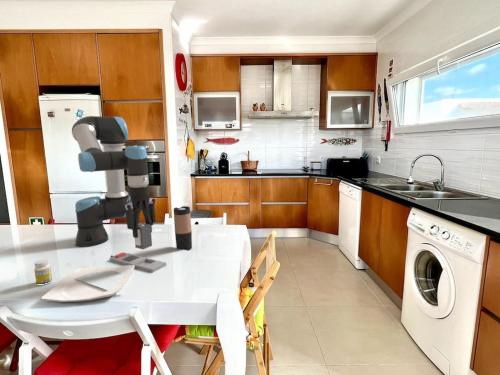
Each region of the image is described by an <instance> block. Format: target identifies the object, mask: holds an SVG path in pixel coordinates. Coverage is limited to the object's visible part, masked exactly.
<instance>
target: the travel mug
mask: <svg viewBox="0 0 500 375" xmlns="http://www.w3.org/2000/svg"><path fill="white" fill-rule="evenodd" d="M173 221H174V222H173V223H174V237H175V247H176V249H177V250H181V251H191V250H192V248H193V240H192V239H193V238H192V218H191V207H190V206H183V205H182V206H181V207H174V208H173Z"/></svg>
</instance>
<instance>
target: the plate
mask: <svg viewBox="0 0 500 375" xmlns="http://www.w3.org/2000/svg"><path fill="white" fill-rule="evenodd" d="M134 267H135V265H121V266H120V265H119V266H104V267H103V266H102V267H78V268H76V269H74V270H73V271H72V272H71V273H69V274H68V275H67V276H66V277H64V278H63V279H61V280H60V282H58V283H56V285H54V286H53V287H52V288H51V289H50V290H48V291H47V292H46V293H45V294H44V295H43V296H42V297H40V299H41V300H43V301H45V302H46V301H47V302H56V303H57V302H58V303H71V302H72V303H74V302H85V301H86V302H87V301H88V302H89V301H93V300H98V299H105V298H108V297H112V296H113V295H115V294H116V293H118V291H119V290H121V289H122V288H123V287H125V285H126V284H127V283H129V282H128V281H130V279H131V277H132V276H133V273H134V271H135V268H134ZM99 272H100V273H101V272H115V273H119V274H121V275H122V280H121V281H120V282H119V283H117V285H115V287H111V288H110V289H105V288H103V287H100V286H97V285H94V284H91V283H88V282H86V281H83V280H80V279H79V278H80V277H82V276H87V275H90V274H94V273H99Z"/></svg>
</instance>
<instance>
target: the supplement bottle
mask: <svg viewBox="0 0 500 375" xmlns="http://www.w3.org/2000/svg"><path fill="white" fill-rule="evenodd" d="M51 270H52V269H51V265H50V264H49V260H48V259H45V258H44V259H39V260H36V261H35V262H34V276H35V283H36V285H37V284H45V283H48V282H50V283H52V282H53V276H52V271H51ZM51 281H52V282H51Z"/></svg>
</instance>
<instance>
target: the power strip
mask: <svg viewBox="0 0 500 375" xmlns="http://www.w3.org/2000/svg"><path fill="white" fill-rule="evenodd" d="M109 261H110V262H113V263H117V264H120V265H123V266H127V265H135V267H134V269H139V270H142V271H147V272H150V273H155V272H157V271H159V270H160V269H163V268H165V267H166V266H167V262H164V261H161V260H157V259H153V258H148V257H145V256H140V255H136V254H131V253H127V252H120V253H118V254H115V255H110V257H109Z"/></svg>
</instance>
